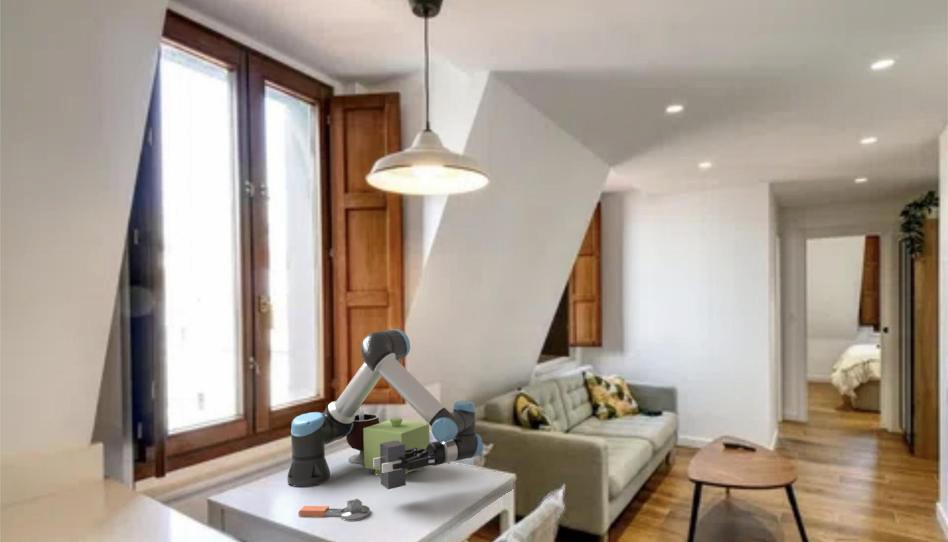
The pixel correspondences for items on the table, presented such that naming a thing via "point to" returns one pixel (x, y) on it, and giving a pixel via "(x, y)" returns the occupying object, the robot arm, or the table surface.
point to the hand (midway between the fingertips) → (378, 465)
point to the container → (393, 438)
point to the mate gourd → (360, 434)
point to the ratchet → (338, 511)
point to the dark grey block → (389, 454)
